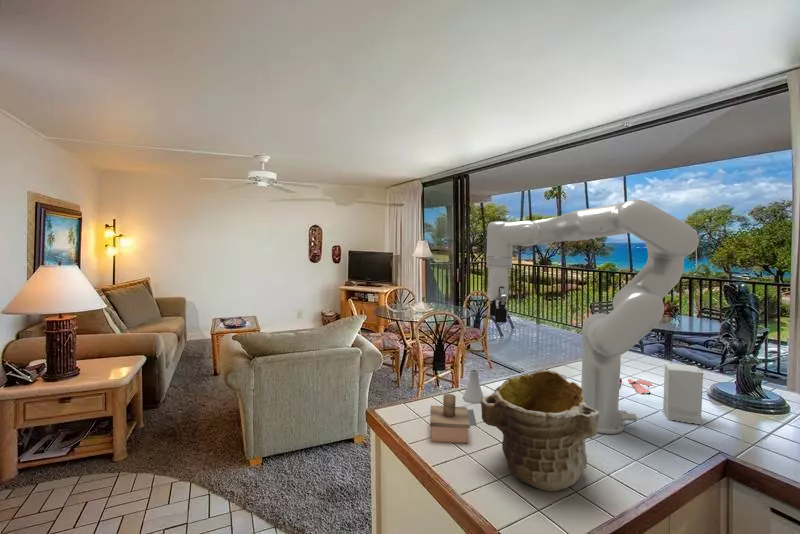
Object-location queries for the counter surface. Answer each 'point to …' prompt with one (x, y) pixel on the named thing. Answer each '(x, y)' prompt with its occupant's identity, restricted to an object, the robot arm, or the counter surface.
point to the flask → (473, 388)
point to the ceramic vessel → (542, 428)
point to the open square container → (449, 434)
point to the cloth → (637, 386)
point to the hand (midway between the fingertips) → (497, 318)
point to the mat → (471, 418)
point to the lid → (449, 414)
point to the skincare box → (683, 393)
